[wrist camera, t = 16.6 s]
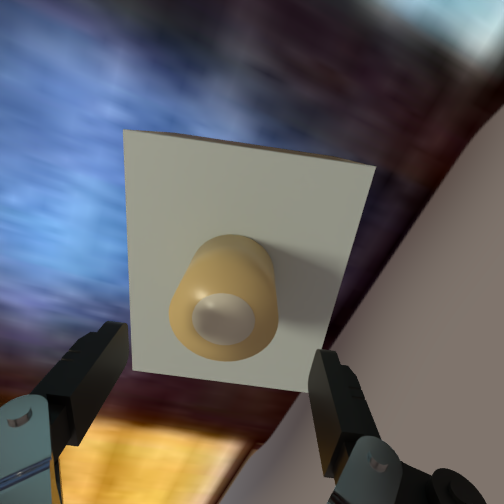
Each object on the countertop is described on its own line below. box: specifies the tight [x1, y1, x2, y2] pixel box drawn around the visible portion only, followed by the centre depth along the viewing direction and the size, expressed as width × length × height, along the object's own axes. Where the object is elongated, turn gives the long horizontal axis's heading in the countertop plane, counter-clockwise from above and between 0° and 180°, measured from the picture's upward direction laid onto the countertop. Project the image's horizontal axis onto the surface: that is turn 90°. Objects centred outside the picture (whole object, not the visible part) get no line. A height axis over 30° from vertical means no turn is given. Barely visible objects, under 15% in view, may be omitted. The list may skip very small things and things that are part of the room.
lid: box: [123, 129, 376, 393], centre depth 20 cm, size 18×14×1 cm
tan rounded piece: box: [169, 234, 279, 362], centre depth 17 cm, size 6×6×5 cm
